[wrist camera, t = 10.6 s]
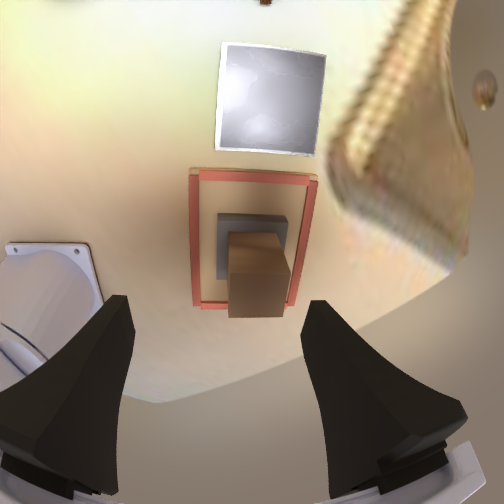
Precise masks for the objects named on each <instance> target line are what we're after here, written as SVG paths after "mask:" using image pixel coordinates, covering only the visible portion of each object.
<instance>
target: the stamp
mask: <svg viewBox="0 0 504 504" xmlns="http://www.w3.org/2000/svg"><path fill="white" fill-rule="evenodd" d="M288 225H289V222H288V220H287V218H286V216H285V215H268V214H240V213H218V215H217V258H216V280H227V291H228V315H229V318H256V317H283V312H284V308H285V303H286V298H287V293H288V287H289V282H290V277H291V271H290V269H289V266H288V263H287V260H286V257H285V255H284V251H285V244H286V238H287V231H288Z"/></svg>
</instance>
